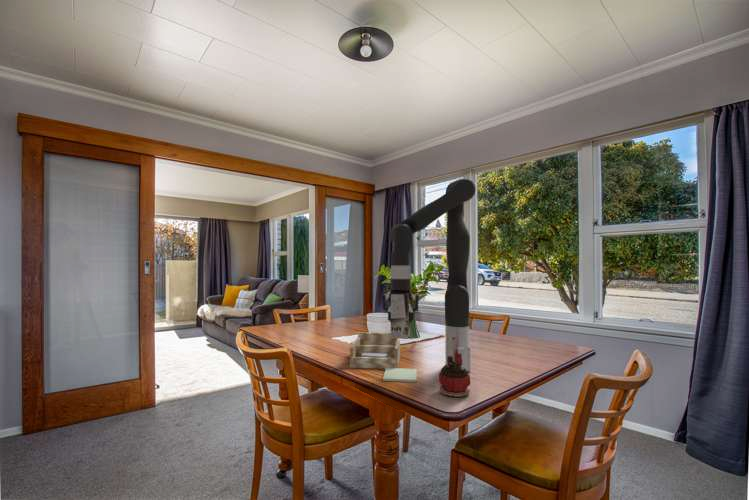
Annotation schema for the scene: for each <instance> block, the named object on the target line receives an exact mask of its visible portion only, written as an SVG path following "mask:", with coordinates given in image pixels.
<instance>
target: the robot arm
mask: <svg viewBox="0 0 749 500" xmlns="http://www.w3.org/2000/svg"><path fill="white" fill-rule="evenodd" d="M476 188H477V187H476V185H475V183H474V181H473V180H471V179H470V178H465V177H464V178H459V179H457V180H454V181H452V182H450V183H449V184H448V185H447V187H446V190H445V194H443V195H441V196H440V197H439V198H436V199H435V200H433V201H431V202H429V203H427V204H425V205H424V206H423V207H421V208H419V209H418V210H416V211H415V212H414V213H412V214H411V215H410V216H408V217H407V218H406V219H404V220H402V221H400V222H398V223H396V224H395V225H394V226H392V227H391V229H390V230H389V232H388V237H389V238H388V239H389V240H390V241H391V242H392V243H394V247H393V248H394V249H393V250H392V252H391V255H390V257H391V260H390V261H391V263H390V265H391V266H390V275H389V277H390V291H389V293H383V294H382V295H381V297H382V298H381V299H382V310H383V311H386V312H387V320H388V321H389V323H391V304H390V305H389V307H388V303H387V300H388V299H389V298H390V299H391V294H397V293H407V294H409V300H411V299H413V301H414V307H412V305H411V302H410V303H409V311H410V312H409V323H410V324H411V323H412V322H413V320H414V312H417V311H418V310H419V302H420V301H419V300H420V299H419V298H420V295H419V294H418V293H417V294H413V293H412V292H411V284H412V283H411V282H412V281H411V280H412V279H411V277H412V276H411V257H410V254H411V250H412V246H413V245H412V243H413V239H414V238H413V235H414V234H416V233H418V232H421V231H422V230H425V228H427V227H428V226H430V225H431V224H432V223H434V222H435V221H436V220H438V219H439V218H440V217H441V216H443V215H444V214H446V243H445V244H446V245H445V250H446V251H445V252H446V261H447V273H448V275H447V285H446V290H445V293H444V321H445V322H444V323H445V324H444V325H445V329H444V330H445V331H444V332H445V333H444V335H445V340H444V344H445V353H444V355H445V362H444V363H445V364H444V365H448V362H447V357H448V356H452V357H453V348H452V337H455V351H456V348H464V354H462V363H463V365H464V368H465V369H466V370H467V373H468V372H471V346H470V297H469V296H470V295H469V290H468V278H467V272H468V265H469V258H470V252H471V250H470V248H471V240H470V239H471V237H470V236H471V235H470V231H469V227H468V226H467V223H466V220H465V217H464V207H465V206H464V205H465V204H464V203H465V202H468V201H470V200H471V199H473V197H474V196H475V194H476V190H477V189H476Z"/></svg>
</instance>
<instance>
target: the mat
mask: <svg viewBox="0 0 749 500" xmlns="http://www.w3.org/2000/svg"><path fill="white" fill-rule="evenodd" d="M384 370H385V371H384V374H383V376H382V382H403V383H407V382H408V383H417V382H418V381H417V380H418V375H417V373H418V370H417V368H401V367H400V368H399V367H398V368H386V369H384Z"/></svg>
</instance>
